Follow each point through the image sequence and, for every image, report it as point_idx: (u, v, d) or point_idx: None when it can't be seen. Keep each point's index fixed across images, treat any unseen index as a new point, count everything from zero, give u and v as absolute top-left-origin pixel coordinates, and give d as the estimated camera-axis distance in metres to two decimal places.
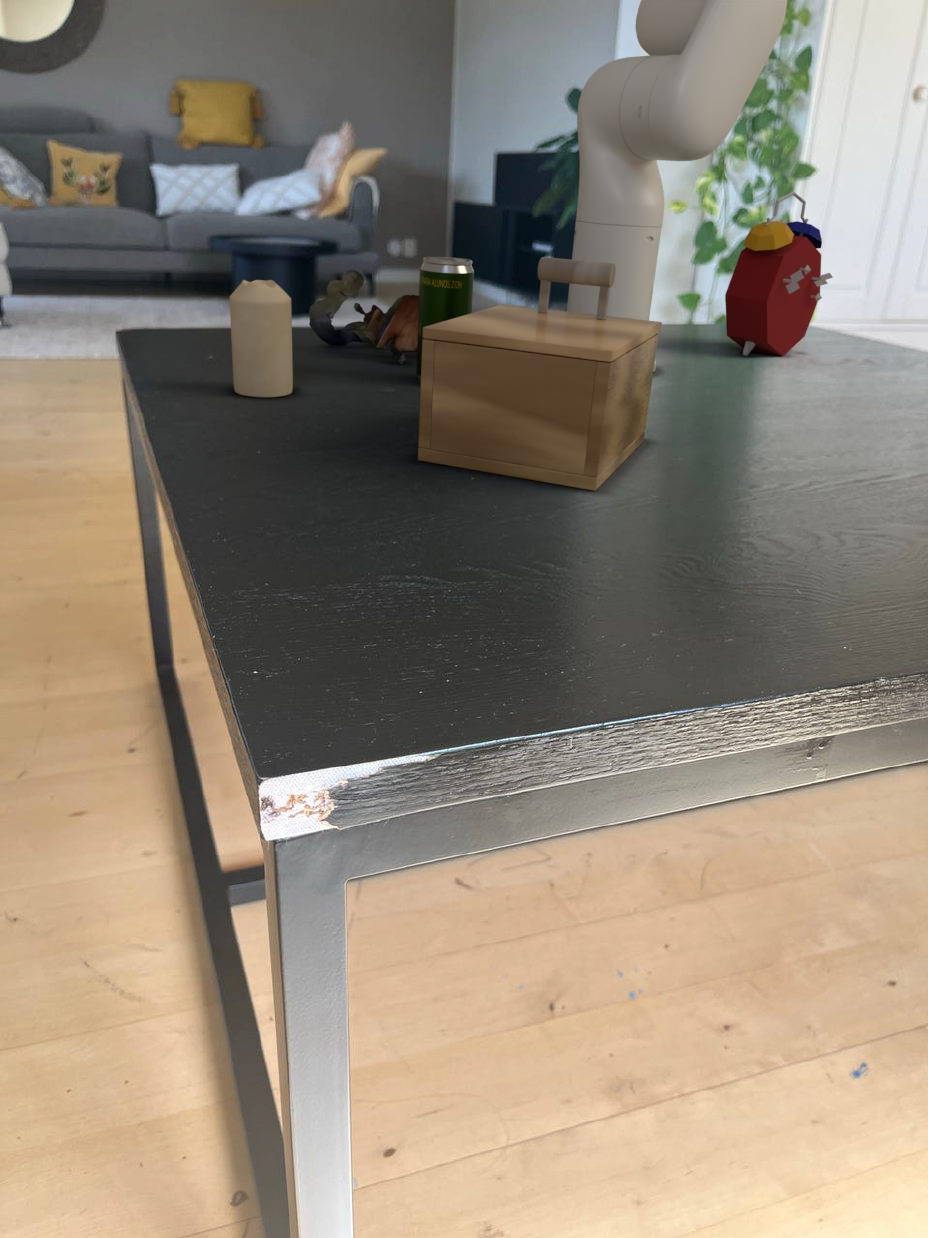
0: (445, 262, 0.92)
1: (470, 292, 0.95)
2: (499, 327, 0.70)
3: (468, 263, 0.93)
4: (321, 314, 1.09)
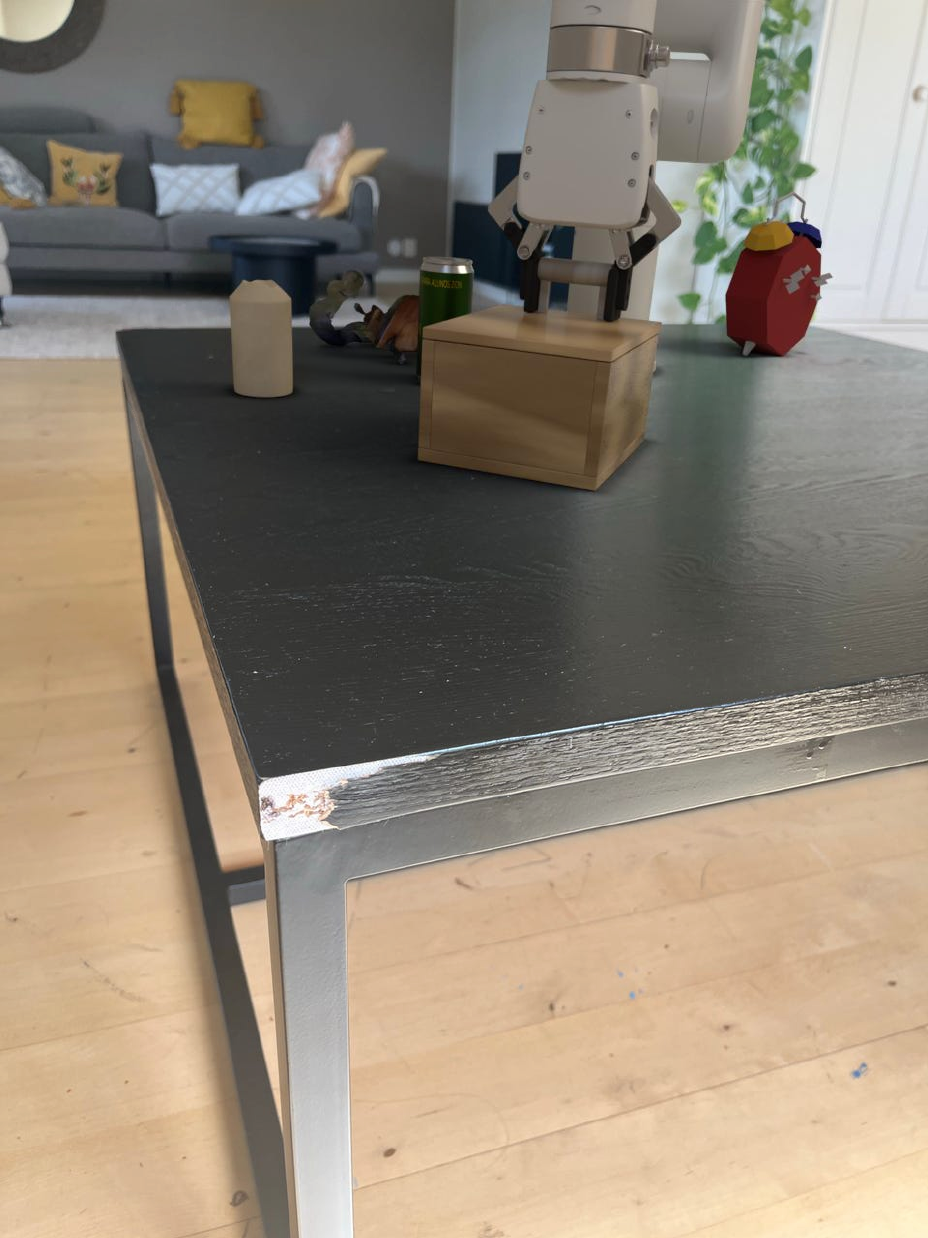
0: (445, 262, 0.92)
1: (470, 292, 0.95)
2: (499, 327, 0.70)
3: (468, 263, 0.93)
4: (321, 314, 1.09)
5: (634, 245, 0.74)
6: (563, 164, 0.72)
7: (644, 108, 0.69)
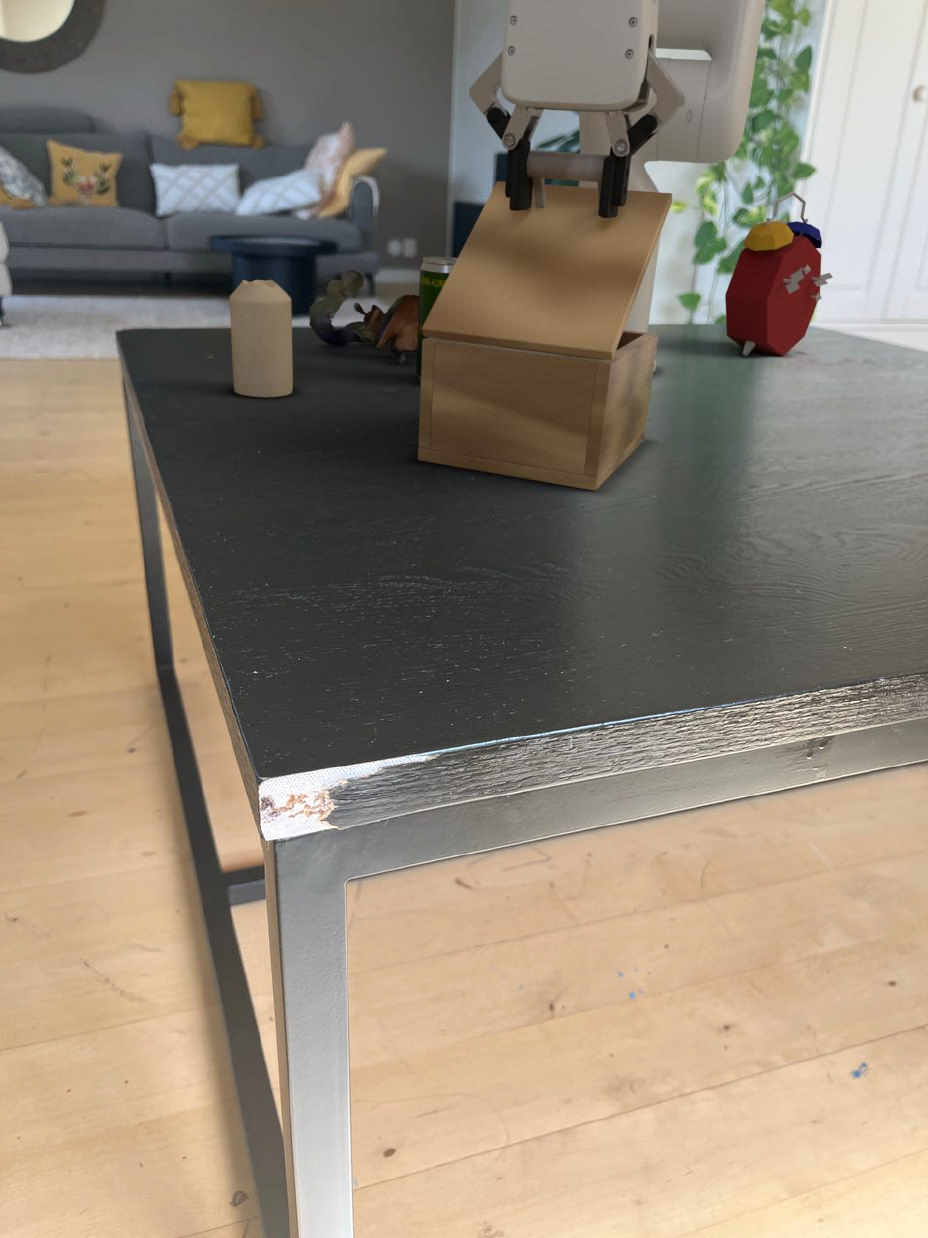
0: (445, 262, 0.92)
1: None
2: (497, 297, 0.68)
3: None
4: (321, 314, 1.09)
5: (632, 129, 0.66)
6: (552, 35, 0.64)
7: None
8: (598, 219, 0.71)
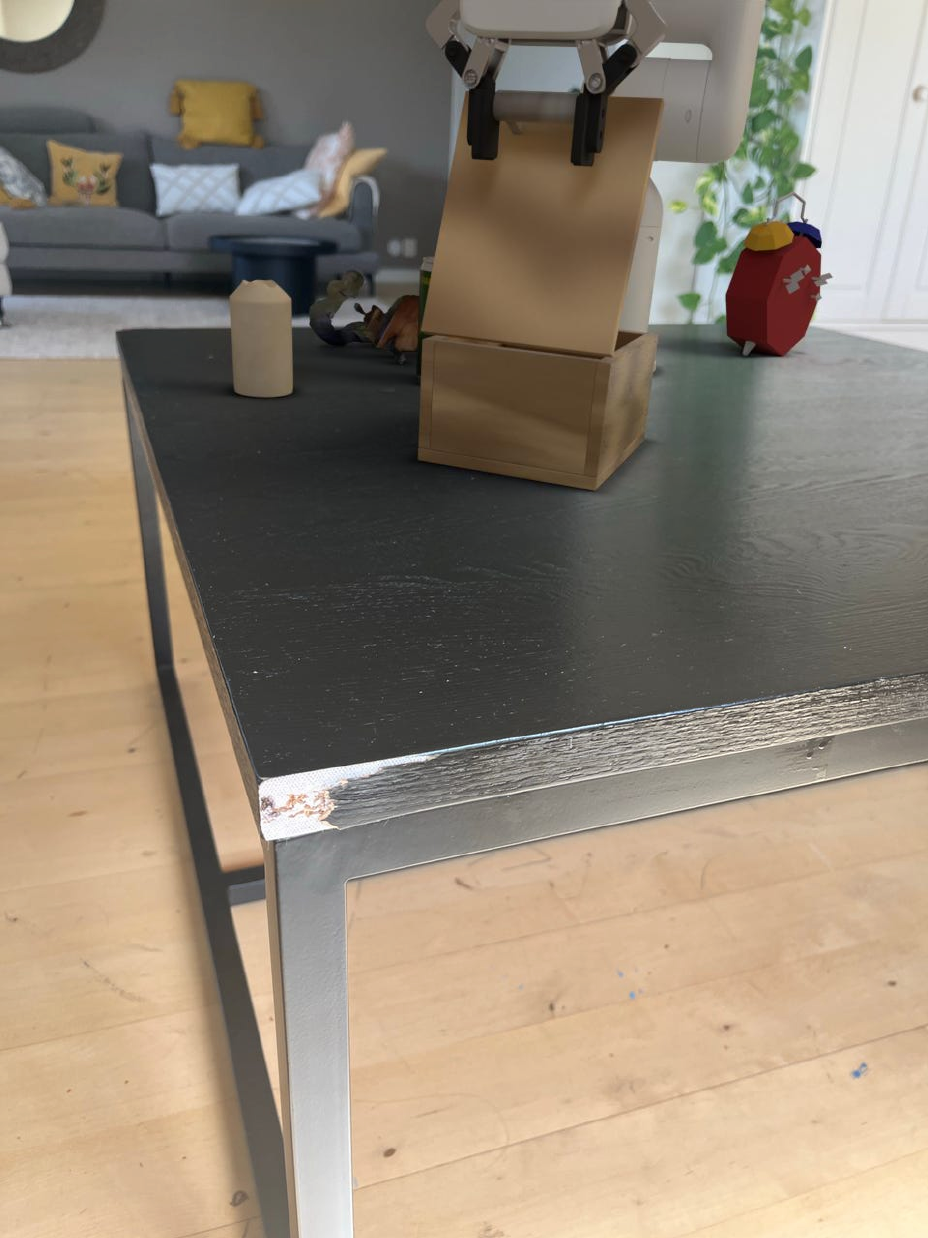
0: None
1: None
2: (489, 281, 0.66)
3: None
4: (321, 314, 1.09)
5: (609, 61, 0.57)
6: None
7: None
8: None
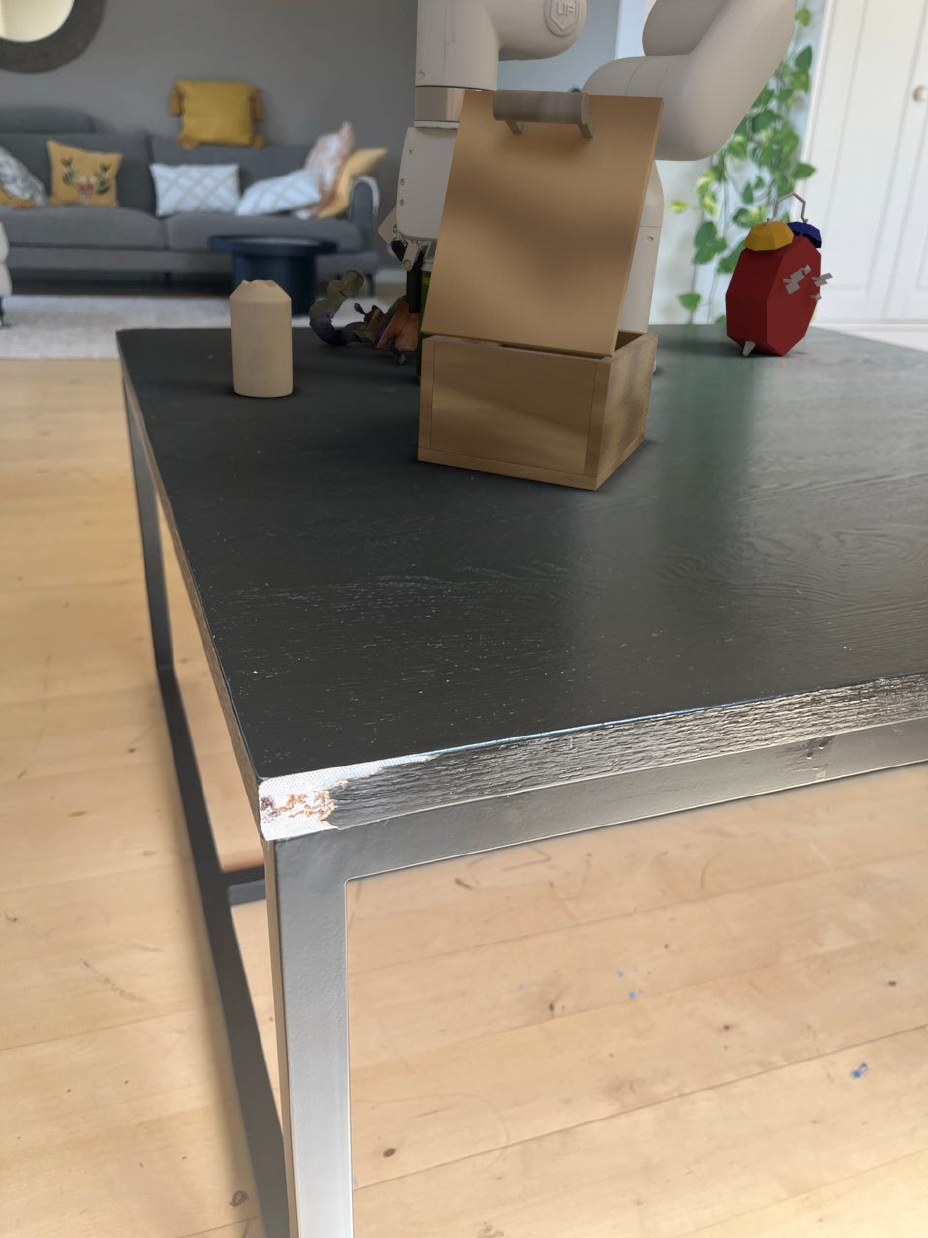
0: None
1: None
2: (489, 281, 0.66)
3: None
4: (321, 314, 1.09)
5: None
6: (429, 193, 0.90)
7: None
8: (583, 150, 0.64)
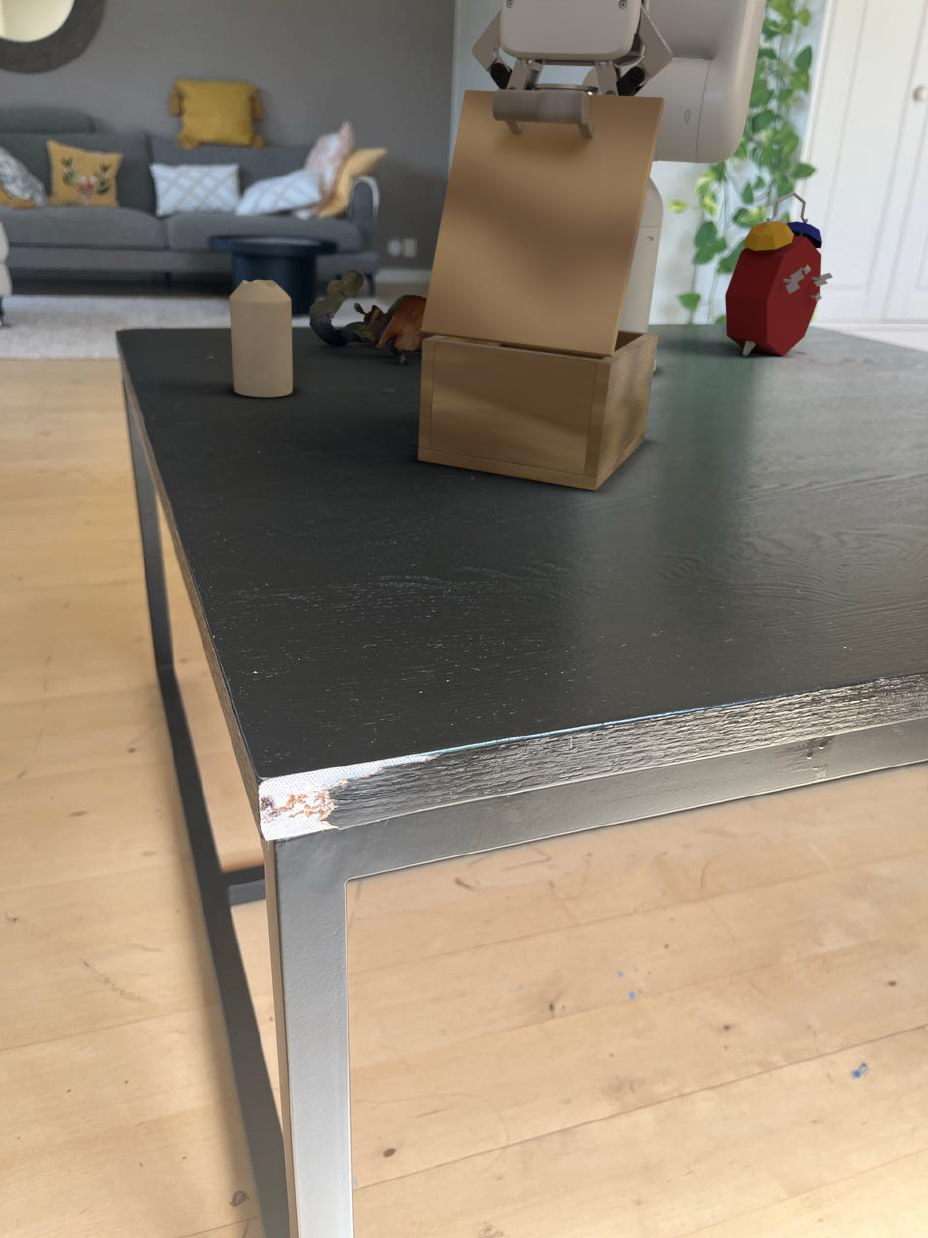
0: (567, 85, 0.68)
1: None
2: (489, 281, 0.66)
3: (596, 89, 0.69)
4: (321, 314, 1.09)
5: (621, 80, 0.68)
6: None
7: None
8: (583, 150, 0.64)
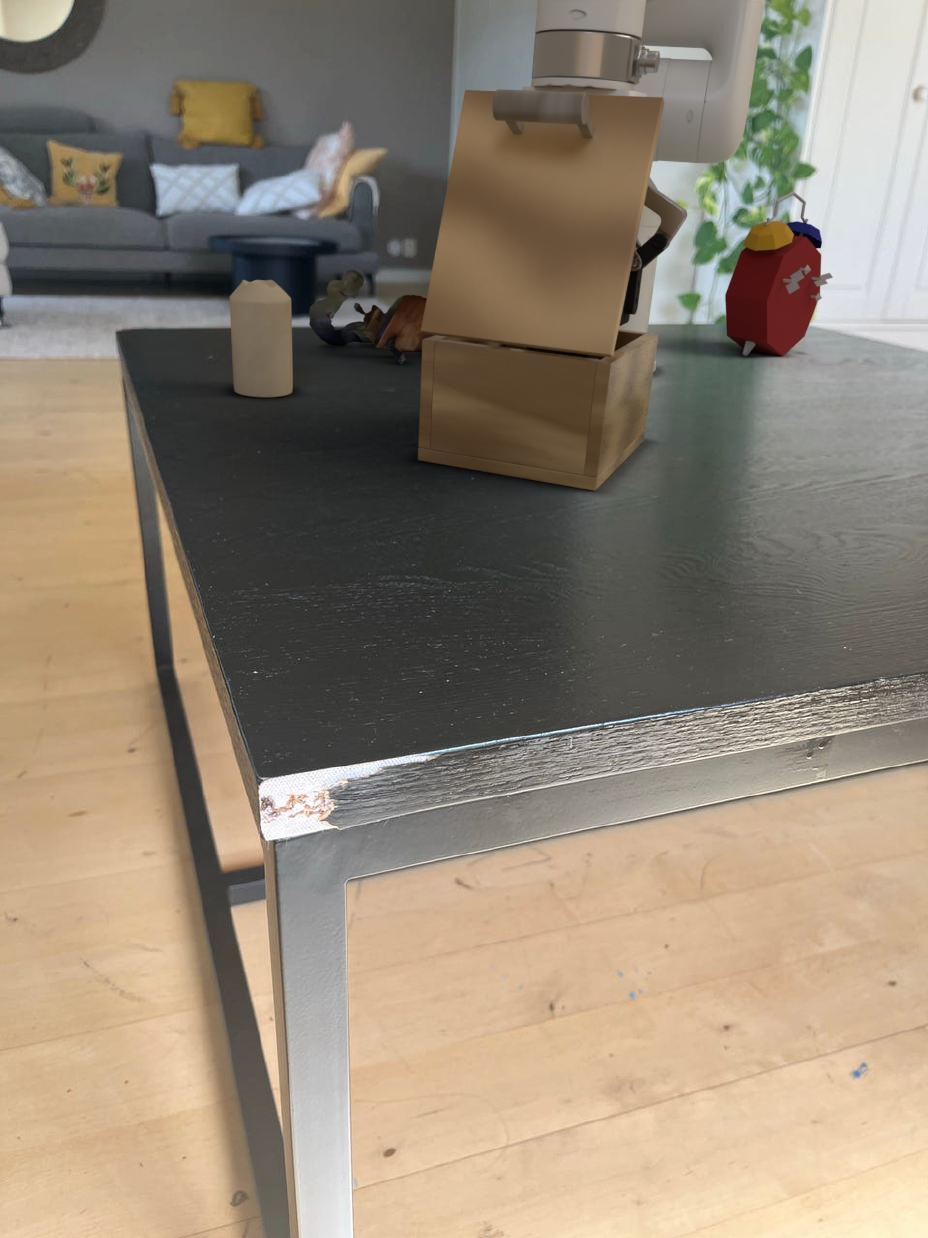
0: None
1: None
2: (489, 281, 0.66)
3: None
4: (321, 314, 1.09)
5: (644, 246, 0.70)
6: None
7: None
8: (583, 150, 0.64)
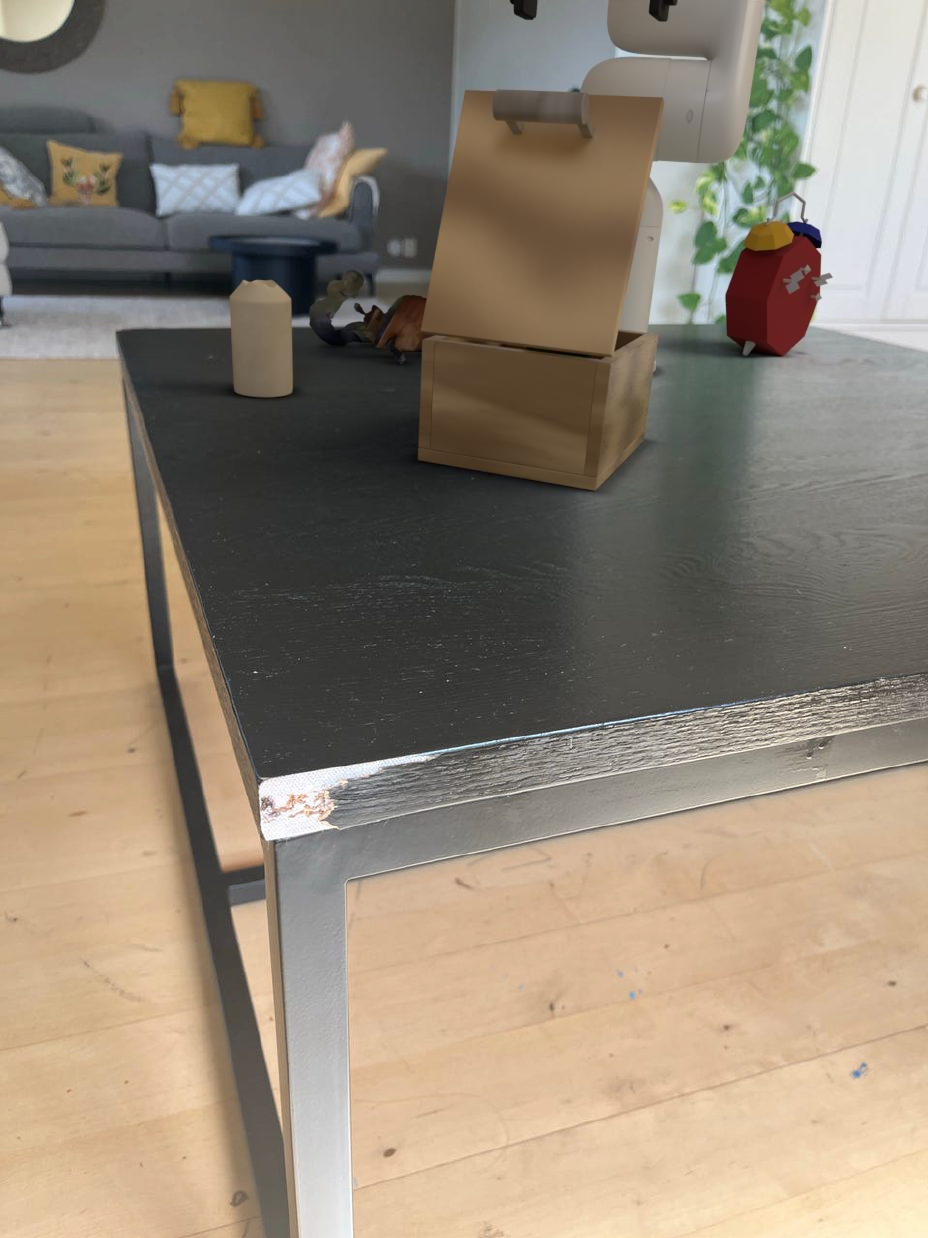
0: None
1: None
2: (489, 281, 0.66)
3: None
4: (321, 314, 1.09)
5: None
6: None
7: None
8: (583, 150, 0.64)
